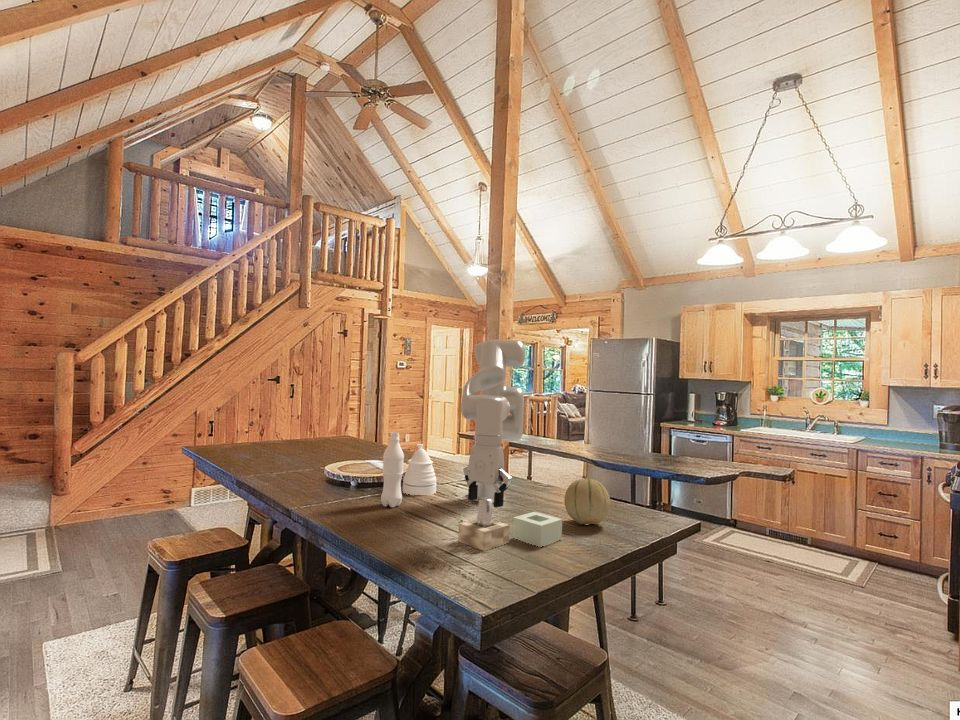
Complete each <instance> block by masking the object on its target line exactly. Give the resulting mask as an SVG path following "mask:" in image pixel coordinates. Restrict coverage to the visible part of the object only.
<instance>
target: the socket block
mask: <svg viewBox="0 0 960 720" xmlns="http://www.w3.org/2000/svg"><path fill="white" fill-rule="evenodd" d="M510 529H511V528H510V524H507V523H503V522H501V521H498V520H494V519H492V525H491V526H490V527H487V528H483V527H480V526H477V518H474V519H470V520H467V521H466V520H465V521H462V522H459V523H458V534H457V536H458V537H457V542H459V543H462V544H464V545H467V546H469V547H473V548H475V549H477V548H478V550H481V551H483V552H486V551H489V550H493V549H496V548H499V547H502V546H504V544H505V545H507V544H506V543H508V544H510ZM501 545H502V546H501ZM498 546H499V547H498ZM495 547H496V548H495ZM492 548H493V549H492Z"/></svg>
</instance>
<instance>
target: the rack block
mask: <svg viewBox="0 0 960 720" xmlns="http://www.w3.org/2000/svg"><path fill="white" fill-rule="evenodd" d="M512 521H513V522H512V539H513V538H515V539H514V540H516V539H518V540H517V541H519V540H521V541H520V542H522V541H524V542H523V543H525V542H526V543H525V544H528V543H529V544H528V545H531V544H532V546H534V545H536V546H535V547H537V546H539V547H538V548H540V547H542V546H544V547H546V546H545V545H547V544H549V543H552V542H555V541H557V540H559V539H562V537H563V518H559V517H555V516H553V515H549V514H544V513H542V512H537V511H533V512H528V513H525V514H521V515H517V516H514V517H512ZM562 540H563V539H562ZM555 543H556V542H555ZM547 546H548V545H547ZM542 548H543V547H542Z"/></svg>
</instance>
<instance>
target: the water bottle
mask: <svg viewBox="0 0 960 720" xmlns="http://www.w3.org/2000/svg"><path fill="white" fill-rule="evenodd" d="M389 436H390V437H389V443H388V445H387V447H386V448H385V450H384V452H383V456H382V472H381V473H382V477H383V488H382V493H381V495H380V500H381V504H382V506H383V507H388V506H389V507H390V508H396V507H399V506H401V503H402V500H403V494H402V487H401V485H402V482H401V481H402V479H403V478H402V477H403V475H404V463H405V462H404V461H405V453H404V451H403V449H402V447H401V445H400V432H396V431H391V432H390V435H389Z"/></svg>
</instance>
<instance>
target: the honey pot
mask: <svg viewBox="0 0 960 720" xmlns="http://www.w3.org/2000/svg"><path fill="white" fill-rule="evenodd" d="M416 447H417V450H416V451H415V452H414V453H413V455H412V457H411V459H408V460H406V461H407V462H406V463H407V464H408V466H407V468H406V472H405V473H404V476H403V478H402V479H403V480H402V493H403V494H405V493H406V494H405V495H408V494H410V495H409V496H414V495H427V496H431V495H430V494H433V495H434V493H435V494H436V493H437V477H436V473H435V469H434V467H433V464H434V461H433V460H431V458H430V455H429V454H428V451H427V450H426V449H424V444H423V443H416Z"/></svg>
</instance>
